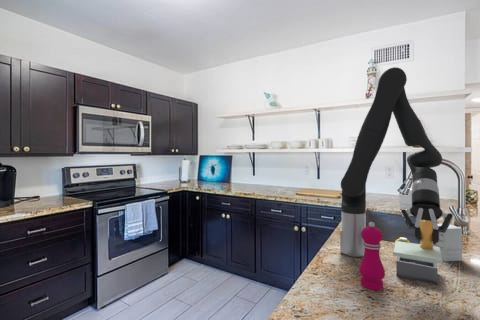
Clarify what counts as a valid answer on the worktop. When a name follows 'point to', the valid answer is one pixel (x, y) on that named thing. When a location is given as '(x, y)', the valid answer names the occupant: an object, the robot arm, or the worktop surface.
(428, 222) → the lid
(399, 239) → the watch
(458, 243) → the supplement box
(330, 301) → the worktop surface
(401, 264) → the parts tub
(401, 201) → the supplement box
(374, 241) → the pepper mill
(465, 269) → the worktop surface
